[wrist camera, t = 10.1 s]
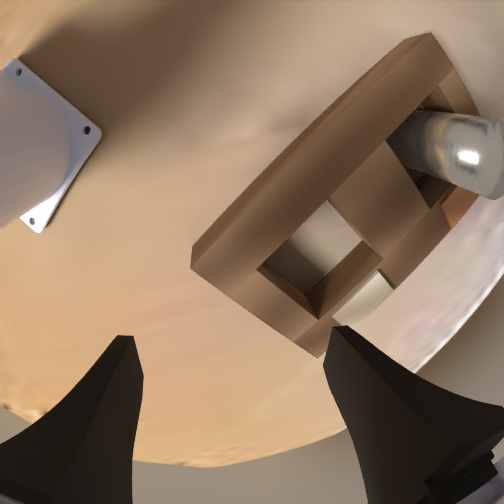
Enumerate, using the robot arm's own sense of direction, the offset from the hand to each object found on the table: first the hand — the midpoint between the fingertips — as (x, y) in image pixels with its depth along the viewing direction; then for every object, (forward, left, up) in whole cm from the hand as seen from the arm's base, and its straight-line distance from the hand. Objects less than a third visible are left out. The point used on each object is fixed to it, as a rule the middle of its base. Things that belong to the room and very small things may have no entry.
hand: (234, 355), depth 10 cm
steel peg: (+4, +14, -9) cm, 17 cm away
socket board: (+4, +9, -9) cm, 14 cm away
